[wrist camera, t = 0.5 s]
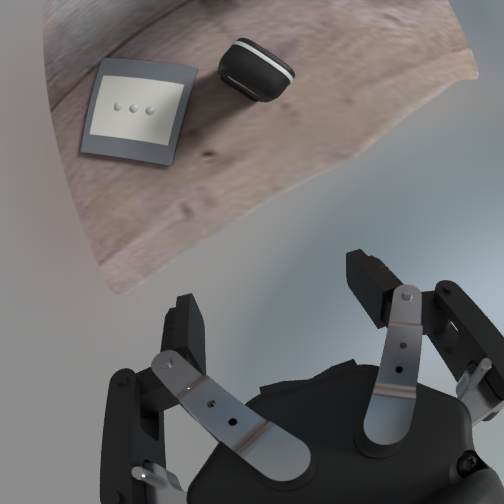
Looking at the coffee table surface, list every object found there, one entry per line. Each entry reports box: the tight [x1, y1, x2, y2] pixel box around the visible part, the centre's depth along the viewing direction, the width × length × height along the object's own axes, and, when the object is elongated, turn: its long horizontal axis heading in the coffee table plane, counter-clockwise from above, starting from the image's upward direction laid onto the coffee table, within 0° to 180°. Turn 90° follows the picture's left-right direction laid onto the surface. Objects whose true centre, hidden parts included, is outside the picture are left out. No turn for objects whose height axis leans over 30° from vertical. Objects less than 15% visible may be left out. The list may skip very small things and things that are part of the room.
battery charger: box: [218, 38, 295, 102], centre depth 25 cm, size 7×4×11 cm, turn 54°
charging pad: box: [81, 58, 198, 166], centre depth 28 cm, size 13×13×1 cm
